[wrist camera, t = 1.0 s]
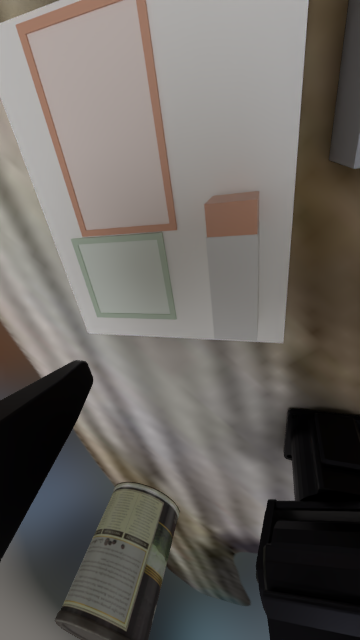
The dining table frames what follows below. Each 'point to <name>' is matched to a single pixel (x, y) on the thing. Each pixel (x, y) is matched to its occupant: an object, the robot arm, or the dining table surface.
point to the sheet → (157, 147)
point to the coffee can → (122, 568)
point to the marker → (234, 264)
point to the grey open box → (348, 95)
